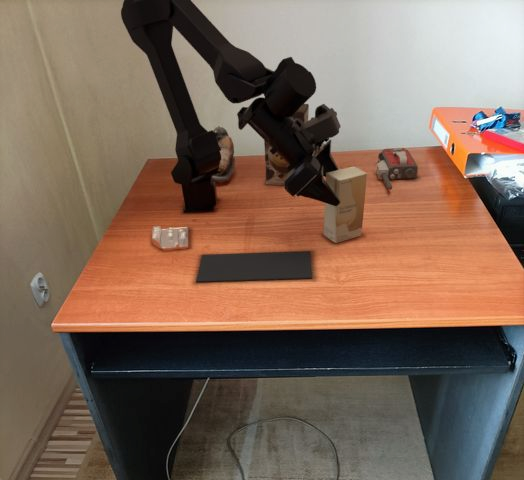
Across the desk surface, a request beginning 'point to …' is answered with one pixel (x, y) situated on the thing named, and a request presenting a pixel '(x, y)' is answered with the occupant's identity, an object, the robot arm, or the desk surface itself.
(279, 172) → the coffee box
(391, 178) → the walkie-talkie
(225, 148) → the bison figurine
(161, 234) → the stamped metal plate
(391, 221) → the desk surface
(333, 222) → the cosmetic box
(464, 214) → the desk surface
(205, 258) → the mat
